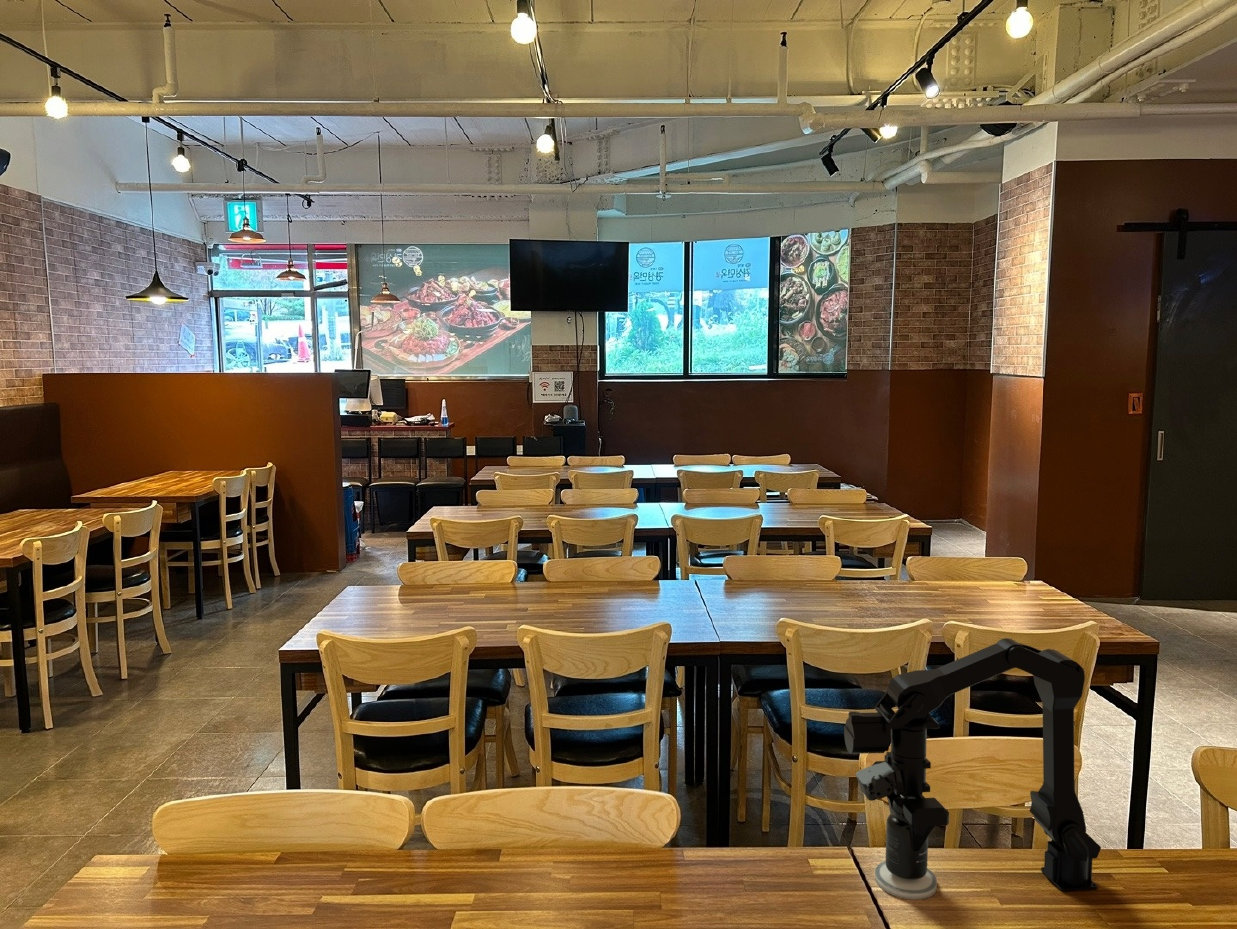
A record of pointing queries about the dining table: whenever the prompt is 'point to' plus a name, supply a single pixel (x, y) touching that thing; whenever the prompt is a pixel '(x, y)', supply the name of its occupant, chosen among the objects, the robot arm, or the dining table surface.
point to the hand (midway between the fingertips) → (906, 839)
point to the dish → (905, 884)
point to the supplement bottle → (903, 846)
